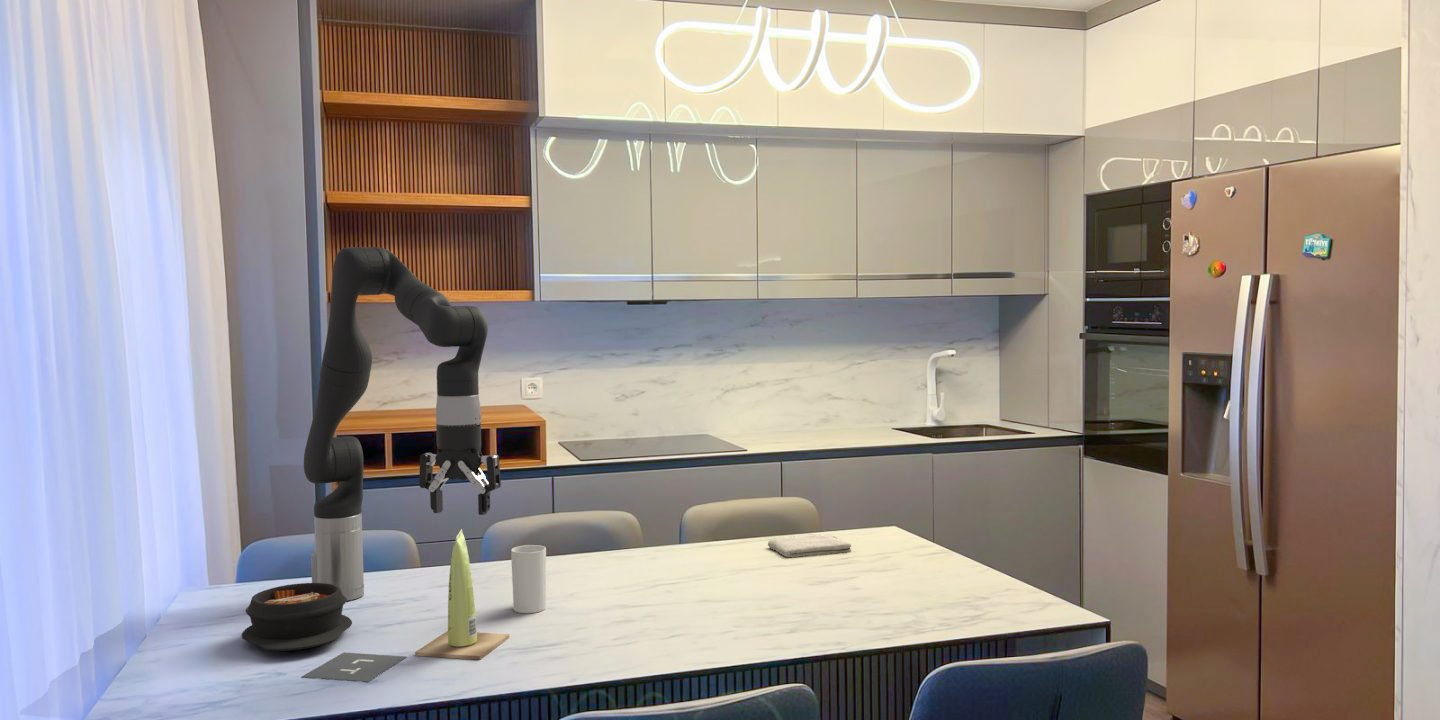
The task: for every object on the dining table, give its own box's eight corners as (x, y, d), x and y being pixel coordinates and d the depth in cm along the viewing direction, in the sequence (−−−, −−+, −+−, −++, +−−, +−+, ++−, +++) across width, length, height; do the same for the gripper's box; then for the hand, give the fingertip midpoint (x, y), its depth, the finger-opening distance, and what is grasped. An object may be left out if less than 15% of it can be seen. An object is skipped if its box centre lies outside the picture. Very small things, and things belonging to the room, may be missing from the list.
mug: (546, 613, 201) (545, 552, 200) (511, 615, 200) (510, 553, 199) (547, 598, 211) (546, 540, 210) (514, 600, 210) (512, 542, 209)
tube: (440, 643, 181) (437, 533, 180) (464, 636, 185) (461, 528, 184) (458, 649, 178) (455, 537, 177) (483, 642, 181) (480, 532, 180)
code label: (301, 680, 167) (301, 676, 167) (343, 655, 179) (343, 652, 179) (368, 685, 164) (368, 681, 164) (407, 660, 176) (406, 656, 176)
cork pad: (415, 655, 177) (415, 652, 177) (448, 633, 188) (448, 630, 188) (480, 659, 174) (480, 656, 174) (509, 637, 186) (509, 634, 186)
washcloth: (854, 553, 248) (854, 541, 248) (786, 560, 242) (786, 547, 242) (833, 543, 260) (832, 531, 259) (767, 550, 253) (766, 537, 253)
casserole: (240, 627, 194) (238, 583, 194) (345, 613, 202) (343, 571, 202) (242, 668, 172) (241, 618, 172) (360, 650, 180) (358, 603, 180)
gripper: (410, 422, 177) (412, 516, 178) (487, 424, 174) (489, 519, 175) (431, 418, 184) (433, 507, 185) (505, 419, 181) (507, 510, 182)
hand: (460, 513), depth 180 cm, fingers open, 8 cm apart
